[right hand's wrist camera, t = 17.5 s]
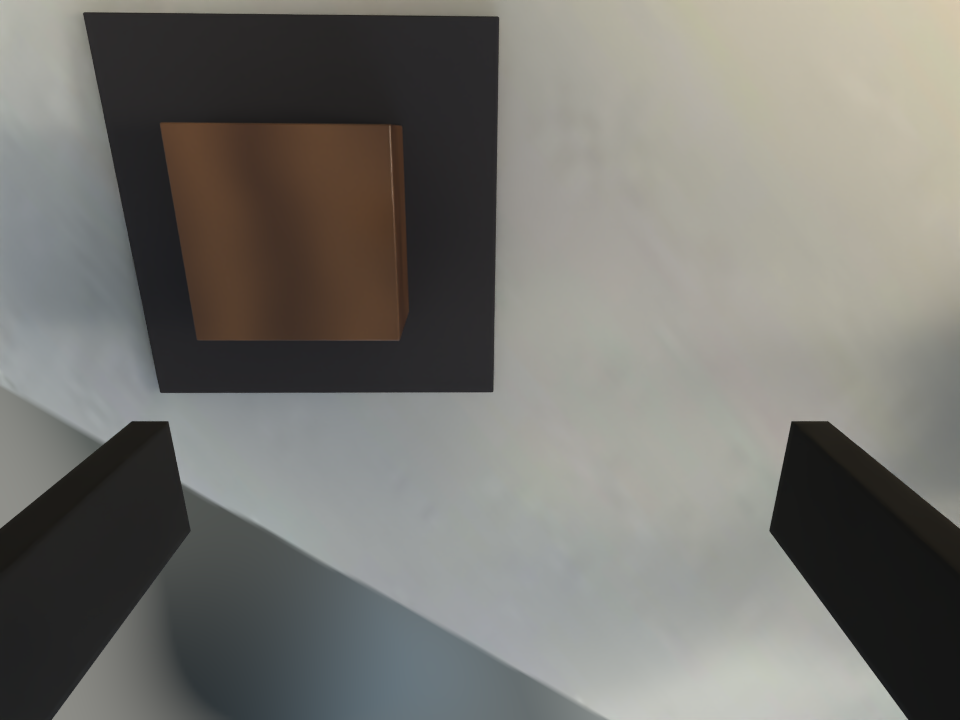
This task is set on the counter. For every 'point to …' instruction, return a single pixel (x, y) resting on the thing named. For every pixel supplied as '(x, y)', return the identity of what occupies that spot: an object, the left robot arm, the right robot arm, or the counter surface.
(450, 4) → the counter surface
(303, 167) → the brown square block
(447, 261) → the coaster
